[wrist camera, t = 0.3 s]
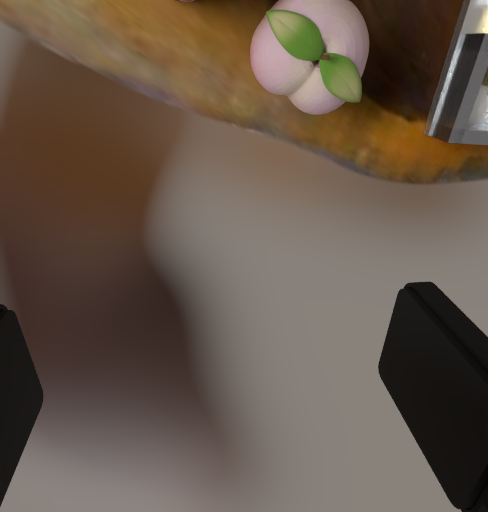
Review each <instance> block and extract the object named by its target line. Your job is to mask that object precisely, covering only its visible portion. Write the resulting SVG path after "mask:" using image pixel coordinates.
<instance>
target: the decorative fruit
mask: <svg viewBox="0 0 488 512" xmlns="http://www.w3.org/2000/svg"><path fill="white" fill-rule="evenodd" d="M368 53H369V35H368V30H367V27H366V23H365V21H364V19H363V17H362V15H361V13H360V11H359V10H358V9H357V7H356V6H355V5H354V4H353V3H352V2H351V1H349V0H278V1H277V2H276V3H275V4H274V5H273V7H272V8H271V9H270V10H269V11H266V15H265V16H264V18H263V19H262V20H261V22H260V23H259V25H258V26H257V28H256V30H255V32H254V35H253V38H252V42H251V48H250V59H251V66H252V69H253V72H254V74H255V76H256V79H257V80H258V81H259V83H260V84H261V85H262V86H263V87H264V88H265V89H266V90H267V91H269V92H271V93H273V94H278V95H286V96H287V97H288V98H289V99H290V101H291V102H292V103H293V104H294V105H295V106H296V107H297V108H298V109H300V110H301V111H303V112H305V113H309V114H314V115H320V114H326V113H329V112H331V111H334V110H335V109H337V108H338V107H340V106H341V105H342V104H343V103H344V102H345V101H347V102H352V103H354V102H360V100H361V95H362V83H361V77H362V74H363V72H364V68H365V65H366V62H367V58H368Z"/></svg>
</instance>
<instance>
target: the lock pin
mask: <svg viewBox="0 0 488 512" xmlns="http://www.w3.org/2000/svg"><path fill="white" fill-rule="evenodd" d="M482 85H483V86H488V70H487V73H486V76H485V78H484V81H483V84H482Z"/></svg>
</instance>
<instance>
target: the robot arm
mask: <svg viewBox="0 0 488 512" xmlns="http://www.w3.org/2000/svg"><path fill="white" fill-rule="evenodd" d="M378 368H379V374H380V377H381V379H382V381H383V383H384V385H385V386H386V388H387V390H388V391H389V394H390V395H391V397H392V399H393V400H394V402H395V404H396V406H397V408H398V410H399V411H400V413H401V415H402V417H403V418H404V420H405V422H406V424H407V426H408V427H409V429H410V431H411V433H412V434H413V436H414V438H415V440H416V442H417V443H418V445H419V447H420V449H421V450H422V452H423V454H424V456H425V458H426V459H427V461H428V463H429V465H430V466H431V468H432V470H433V472H434V474H435V475H436V477H437V479H438V481H439V483H440V484H441V486H442V488H443V490H444V492H445V493H446V495H447V497H448V499H449V500H450V502H451V503H452V505H453V506H454V507H456V508H458V509H461V511H462V512H488V337H487V336H486V335H485V334H484V333H483V332H482V331H481V330H480V329H479V328H478V327H477V326H476V325H475V324H474V323H473V322H472V321H471V320H470V319H469V318H468V317H467V316H466V315H465V314H464V313H463V312H462V311H461V310H460V309H459V308H458V307H457V306H456V305H455V304H454V303H453V302H452V301H451V300H450V299H449V298H448V297H447V296H446V295H445V294H444V293H443V292H442V291H441V290H440V289H439V288H438V287H437V286H436V285H435V284H434V283H432V282H415V283H407V284H406V285H405V287H404V289H401V290H399V292H398V295H397V298H396V302H395V306H394V309H393V313H392V317H391V320H390V324H389V328H388V331H387V335H386V339H385V342H384V346H383V350H382V353H381V357H380V361H379V365H378ZM42 402H43V390H42V387H41V384H40V381H39V378H38V375H37V373H36V370H35V367H34V364H33V361H32V359H31V356H30V353H29V350H28V347H27V345H26V342H25V339H24V336H23V334H22V330H21V328H20V325H19V322H18V319H17V316H16V314H15V312H14V311H12V310H8V309H7V307H5V306H4V305H2V304H0V506H1V504H2V501H3V499H4V496H5V494H6V491H7V489H8V486H9V484H10V482H11V479H12V477H13V474H14V472H15V470H16V467H17V465H18V462H19V460H20V457H21V455H22V452H23V450H24V447H25V445H26V443H27V440H28V438H29V435H30V433H31V431H32V428H33V426H34V423H35V421H36V419H37V416H38V414H39V411H40V409H41V406H42Z"/></svg>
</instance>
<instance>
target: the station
mask: <svg viewBox="0 0 488 512" xmlns="http://www.w3.org/2000/svg"><path fill="white" fill-rule="evenodd" d="M487 70H488V0H464V1H463V4H462V8H461V11H460V14H459V17H458V21H457V24H456V27H455V30H454V34H453V37H452V40H451V43H450V47H449V50H448V53H447V56H446V60H445V63H444V66H443V69H442V73H441V76H440V79H439V82H438V86H437V89H436V92H435V95H434V99H433V102H432V105H431V108H430V112H429V115H428V118H427V121H426V125H425V128H424V131H423V134H425V135H428V136H432V137H435V138H437V139H440V140H442V141H445V142H447V143H461V144H477V145H488V86H483V85H482V84H483V81H484V78H485V76H486V73H487Z"/></svg>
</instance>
